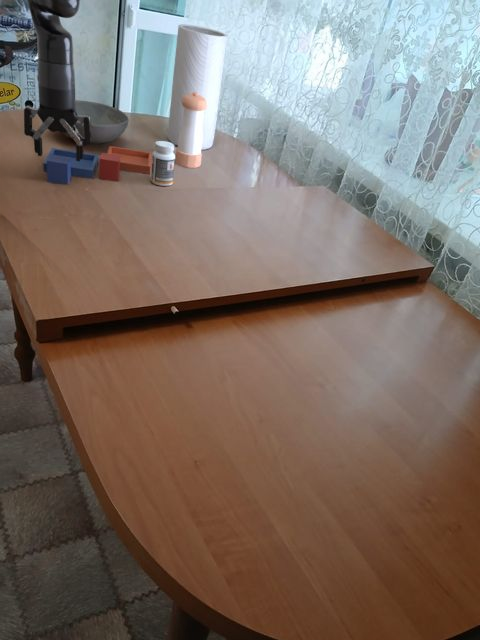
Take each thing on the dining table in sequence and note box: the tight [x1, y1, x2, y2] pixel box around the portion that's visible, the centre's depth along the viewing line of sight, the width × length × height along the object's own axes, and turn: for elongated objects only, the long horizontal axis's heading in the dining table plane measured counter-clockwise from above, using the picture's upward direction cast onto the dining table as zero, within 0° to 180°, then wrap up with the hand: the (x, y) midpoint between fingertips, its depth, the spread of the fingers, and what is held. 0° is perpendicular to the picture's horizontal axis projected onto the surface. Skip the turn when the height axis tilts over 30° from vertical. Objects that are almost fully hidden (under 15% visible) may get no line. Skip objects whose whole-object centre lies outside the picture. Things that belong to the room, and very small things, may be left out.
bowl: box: [62, 99, 130, 145], centre depth 154 cm, size 21×21×8 cm
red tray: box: [106, 145, 153, 175], centre depth 147 cm, size 12×12×2 cm
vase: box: [167, 23, 228, 151], centre depth 162 cm, size 14×14×32 cm
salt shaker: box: [175, 92, 208, 169], centre depth 151 cm, size 7×7×19 cm
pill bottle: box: [150, 140, 176, 187], centre depth 138 cm, size 6×6×10 cm
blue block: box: [46, 154, 72, 185], centre depth 128 cm, size 5×5×5 cm
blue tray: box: [42, 147, 100, 179], centre depth 137 cm, size 12×12×2 cm
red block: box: [98, 152, 121, 182], centre depth 136 cm, size 5×5×5 cm
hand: (59, 157), depth 127 cm, fingers open, 8 cm apart
